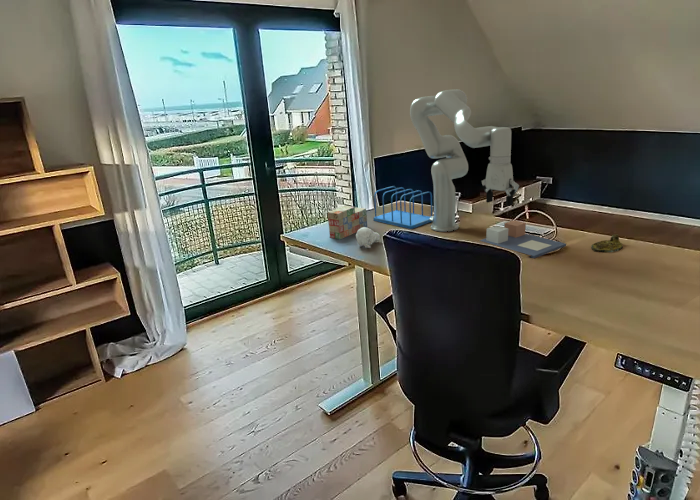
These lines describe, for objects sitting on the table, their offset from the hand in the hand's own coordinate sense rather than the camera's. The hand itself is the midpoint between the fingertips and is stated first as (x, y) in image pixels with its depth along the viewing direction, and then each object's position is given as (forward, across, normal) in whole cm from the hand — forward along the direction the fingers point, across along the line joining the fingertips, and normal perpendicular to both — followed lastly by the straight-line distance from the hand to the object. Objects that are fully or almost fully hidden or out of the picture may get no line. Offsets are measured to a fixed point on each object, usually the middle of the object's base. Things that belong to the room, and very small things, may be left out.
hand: (499, 203), depth 187 cm
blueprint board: (+17, +7, +5) cm, 19 cm away
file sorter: (+16, -54, -5) cm, 56 cm away
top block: (+16, -1, +11) cm, 19 cm away
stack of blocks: (+16, -58, -35) cm, 69 cm away
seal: (+18, +31, +24) cm, 43 cm away
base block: (+16, -1, 0) cm, 16 cm away
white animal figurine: (+16, -36, -39) cm, 55 cm away
